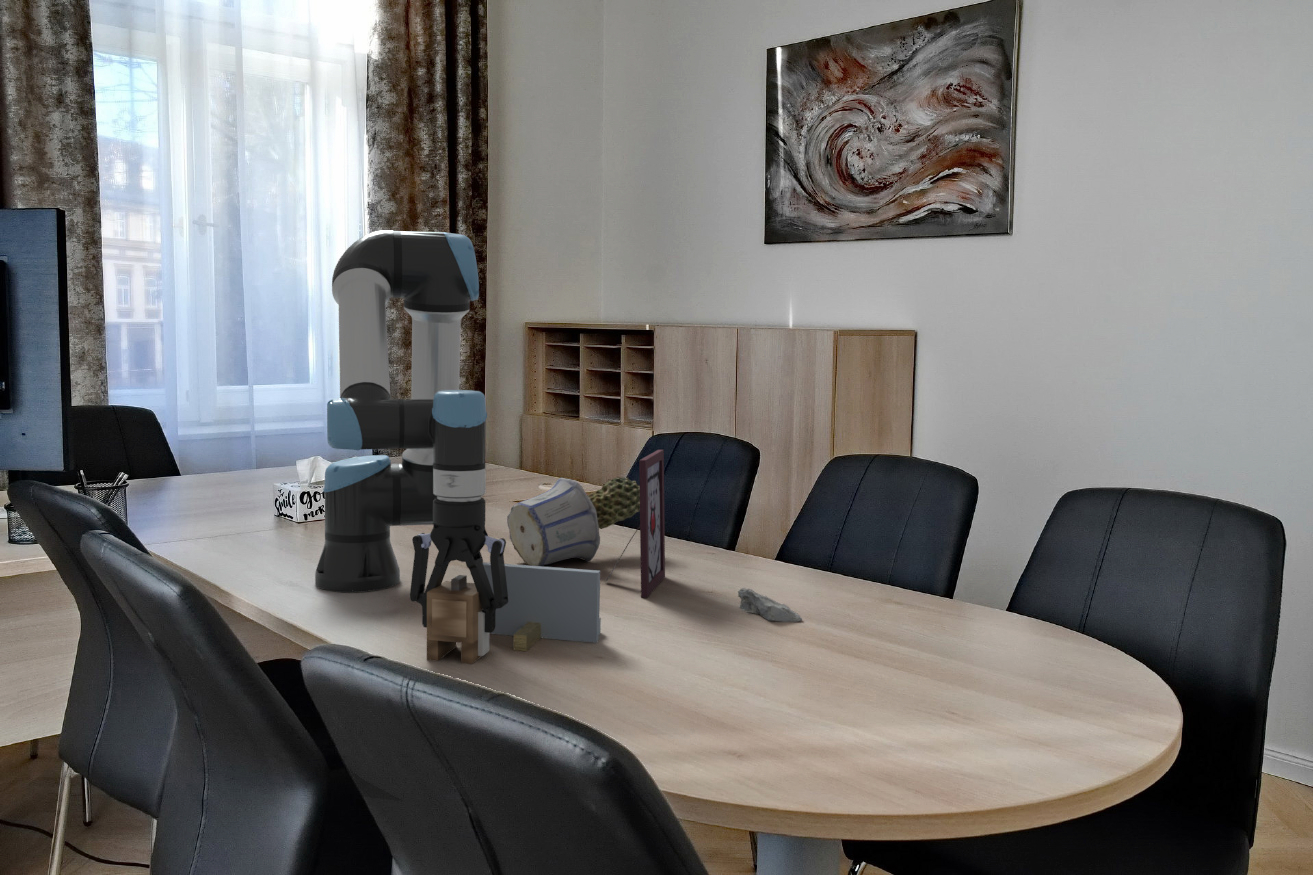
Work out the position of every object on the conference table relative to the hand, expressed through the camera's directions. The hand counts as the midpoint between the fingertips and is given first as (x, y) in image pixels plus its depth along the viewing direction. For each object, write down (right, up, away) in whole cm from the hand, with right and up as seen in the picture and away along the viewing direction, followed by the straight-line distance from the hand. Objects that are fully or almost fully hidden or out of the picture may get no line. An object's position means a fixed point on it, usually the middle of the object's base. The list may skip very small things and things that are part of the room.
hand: (458, 650), depth 158 cm
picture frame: (+24, +3, +44) cm, 50 cm away
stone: (+48, +1, +26) cm, 55 cm away
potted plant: (+14, +6, +65) cm, 67 cm away
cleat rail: (+9, 0, +6) cm, 11 cm away
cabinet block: (0, -1, 0) cm, 1 cm away
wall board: (+11, +1, +12) cm, 16 cm away
